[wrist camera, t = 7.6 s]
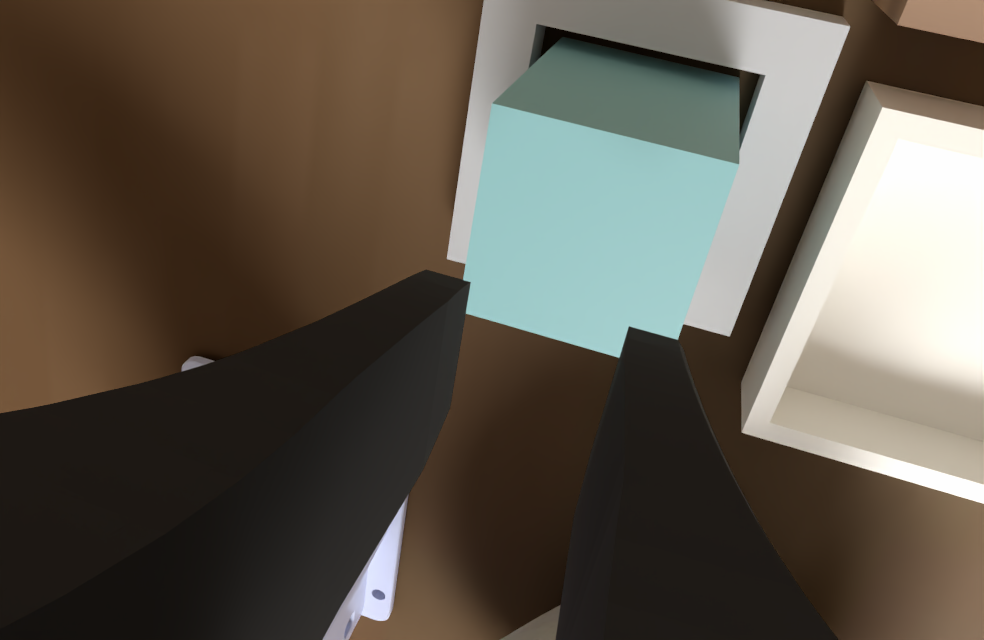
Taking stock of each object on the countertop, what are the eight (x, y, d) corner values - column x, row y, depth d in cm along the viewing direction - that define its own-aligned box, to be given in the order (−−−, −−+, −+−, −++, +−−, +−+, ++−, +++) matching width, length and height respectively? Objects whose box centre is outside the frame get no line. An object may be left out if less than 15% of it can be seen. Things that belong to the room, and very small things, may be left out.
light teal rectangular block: (685, 239, 19) (666, 371, 14) (529, 198, 20) (458, 310, 15) (739, 77, 17) (739, 164, 12) (562, 36, 17) (492, 103, 12)
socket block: (730, 312, 20) (729, 336, 19) (460, 240, 21) (447, 259, 20) (843, 16, 16) (850, 26, 15) (505, -55, 17) (491, -50, 16)
